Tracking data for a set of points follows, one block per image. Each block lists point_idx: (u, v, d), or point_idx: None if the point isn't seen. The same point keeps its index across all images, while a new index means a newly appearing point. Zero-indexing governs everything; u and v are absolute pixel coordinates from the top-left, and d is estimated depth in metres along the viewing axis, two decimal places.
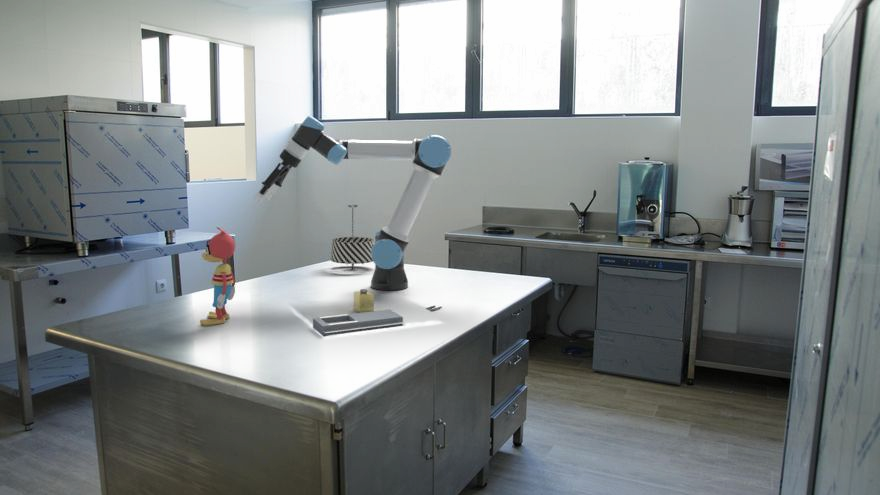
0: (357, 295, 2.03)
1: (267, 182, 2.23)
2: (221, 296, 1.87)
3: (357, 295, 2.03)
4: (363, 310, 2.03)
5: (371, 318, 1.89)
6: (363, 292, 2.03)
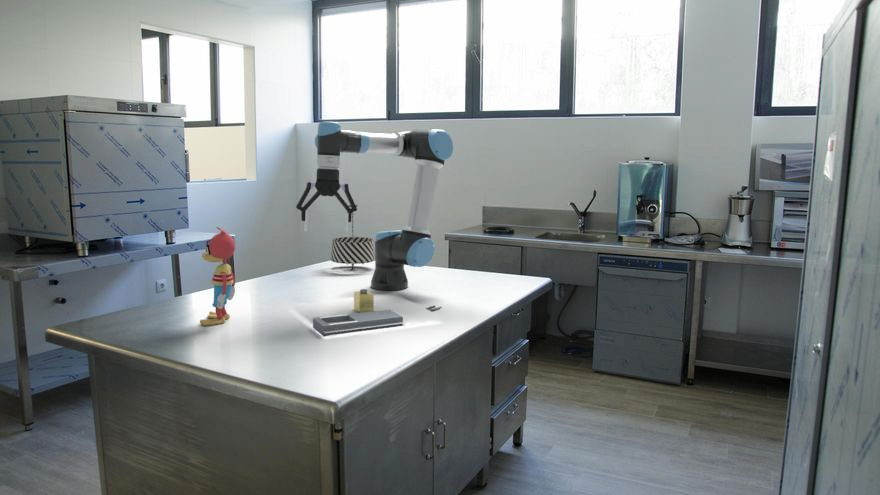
0: (357, 295, 2.03)
1: None
2: (221, 296, 1.87)
3: (357, 295, 2.03)
4: (363, 310, 2.03)
5: (371, 318, 1.89)
6: (363, 292, 2.03)
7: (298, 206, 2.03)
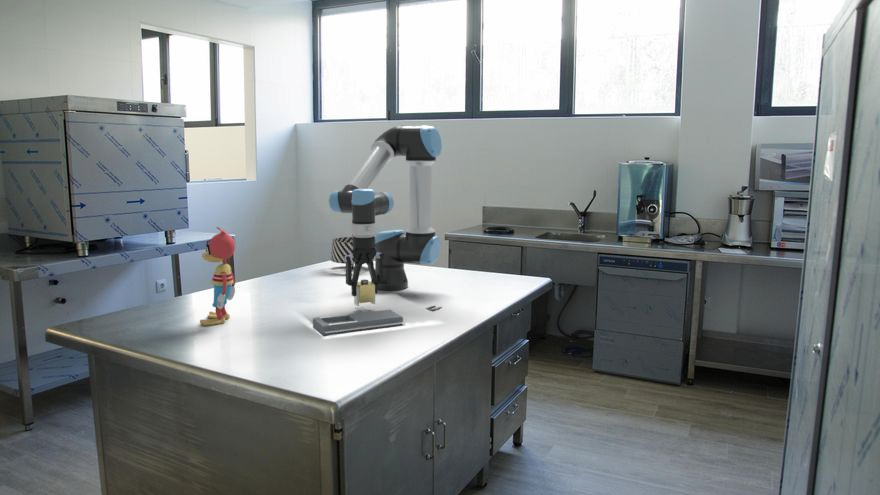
0: (358, 285, 2.03)
1: (374, 279, 2.05)
2: (221, 296, 1.87)
3: None
4: (364, 300, 2.03)
5: (371, 318, 1.89)
6: (364, 282, 2.03)
7: (349, 283, 2.01)
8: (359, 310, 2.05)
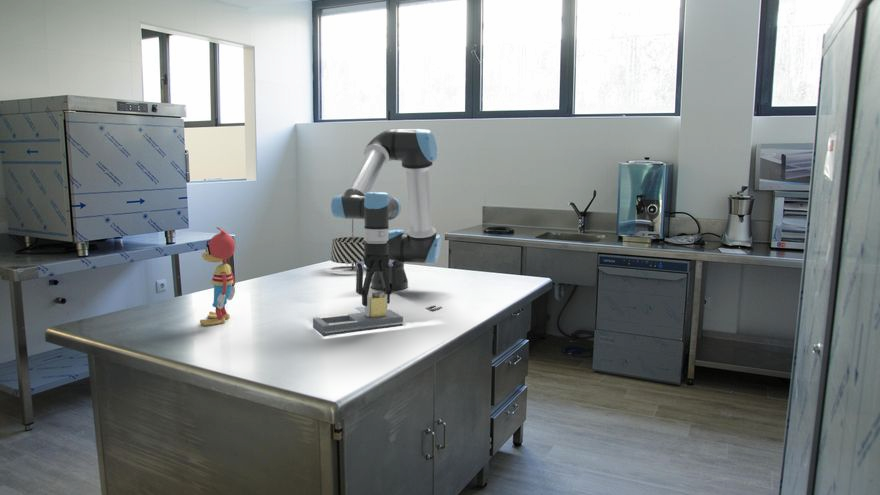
0: None
1: None
2: (221, 296, 1.87)
3: None
4: (375, 315, 1.91)
5: (371, 318, 1.89)
6: (375, 296, 1.91)
7: (360, 291, 1.88)
8: (359, 310, 2.05)
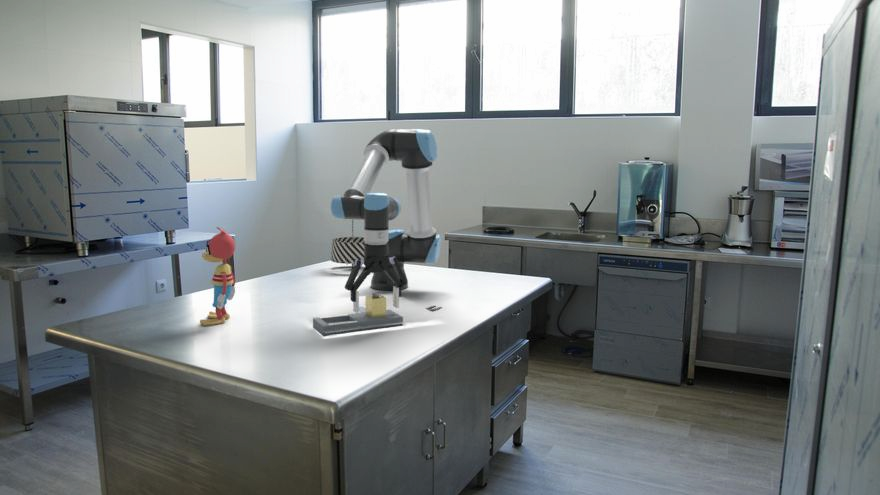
0: (369, 299, 1.91)
1: None
2: (221, 296, 1.87)
3: (368, 299, 1.91)
4: (375, 315, 1.91)
5: (371, 318, 1.89)
6: (375, 296, 1.92)
7: (348, 287, 1.87)
8: (359, 310, 2.05)
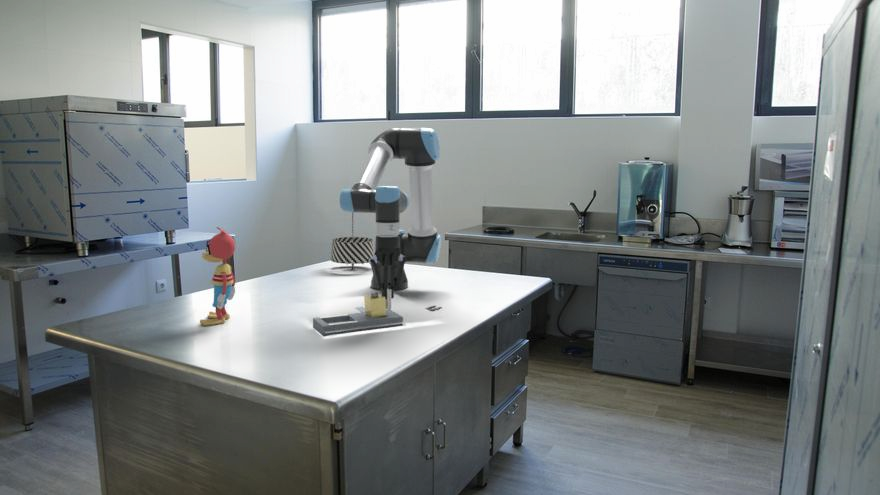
0: (368, 299, 1.91)
1: None
2: (221, 296, 1.87)
3: (367, 300, 1.91)
4: (375, 315, 1.91)
5: (371, 318, 1.89)
6: (374, 296, 1.91)
7: (379, 285, 1.91)
8: (359, 310, 2.05)
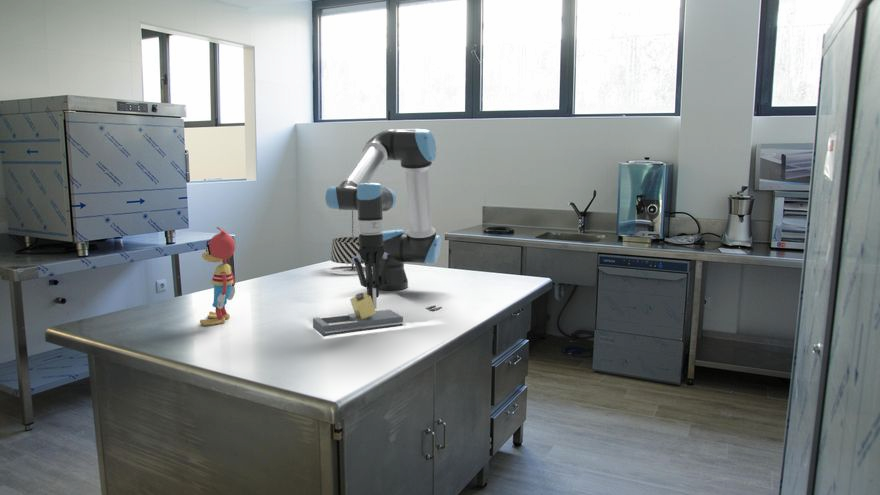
0: (354, 302, 1.88)
1: None
2: (221, 296, 1.87)
3: (354, 302, 1.88)
4: (365, 316, 1.88)
5: (371, 318, 1.89)
6: (359, 297, 1.88)
7: (364, 284, 1.88)
8: None
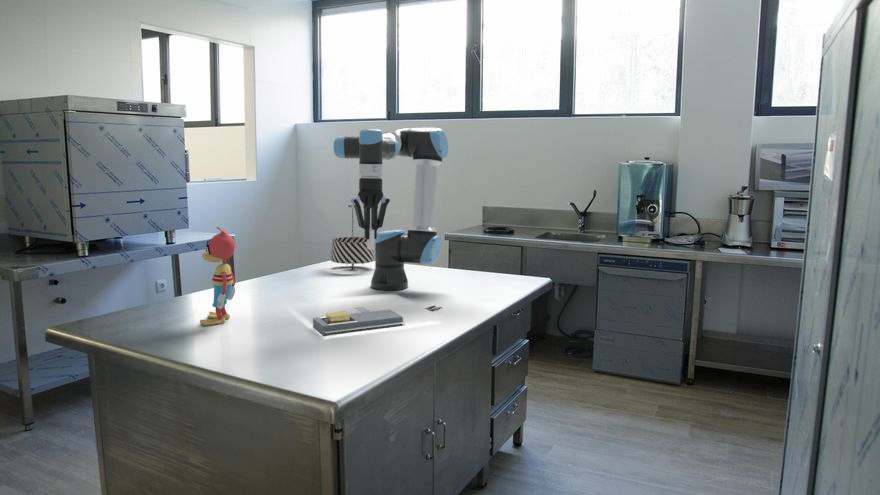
0: None
1: None
2: (221, 296, 1.87)
3: None
4: None
5: (371, 318, 1.89)
6: None
7: (362, 225, 1.99)
8: (359, 310, 2.05)
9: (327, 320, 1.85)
